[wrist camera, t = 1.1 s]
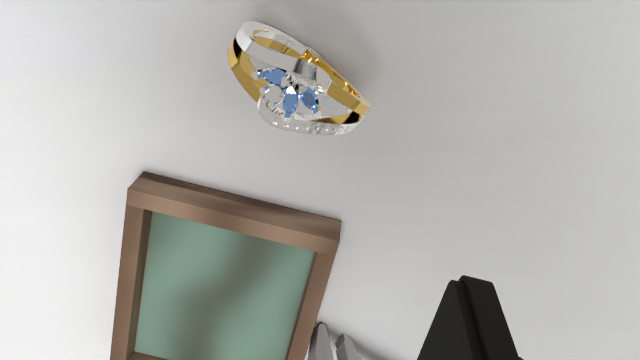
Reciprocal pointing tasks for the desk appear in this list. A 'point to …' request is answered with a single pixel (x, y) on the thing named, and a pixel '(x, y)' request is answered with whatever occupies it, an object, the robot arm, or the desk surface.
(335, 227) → the jewellery tray
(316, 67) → the ring
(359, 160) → the desk surface
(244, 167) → the desk surface
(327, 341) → the caliper
